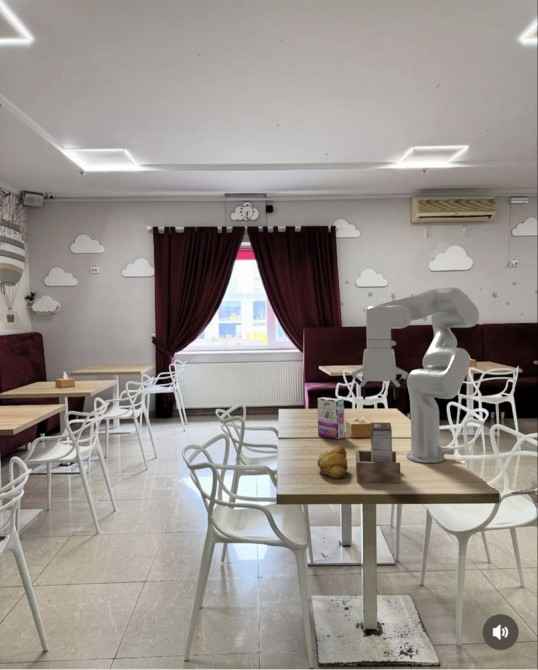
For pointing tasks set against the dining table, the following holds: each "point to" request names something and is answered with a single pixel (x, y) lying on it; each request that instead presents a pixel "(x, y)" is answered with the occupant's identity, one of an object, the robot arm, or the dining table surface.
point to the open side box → (376, 469)
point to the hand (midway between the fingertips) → (379, 398)
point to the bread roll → (333, 462)
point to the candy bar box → (331, 418)
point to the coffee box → (381, 442)
